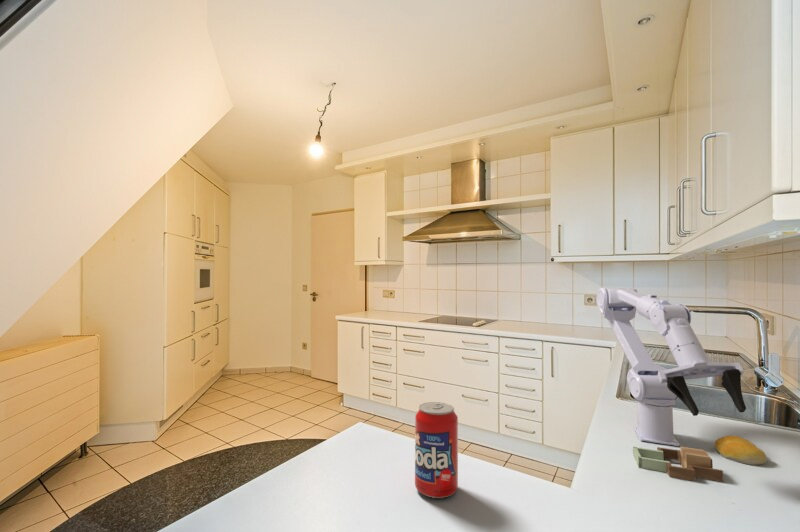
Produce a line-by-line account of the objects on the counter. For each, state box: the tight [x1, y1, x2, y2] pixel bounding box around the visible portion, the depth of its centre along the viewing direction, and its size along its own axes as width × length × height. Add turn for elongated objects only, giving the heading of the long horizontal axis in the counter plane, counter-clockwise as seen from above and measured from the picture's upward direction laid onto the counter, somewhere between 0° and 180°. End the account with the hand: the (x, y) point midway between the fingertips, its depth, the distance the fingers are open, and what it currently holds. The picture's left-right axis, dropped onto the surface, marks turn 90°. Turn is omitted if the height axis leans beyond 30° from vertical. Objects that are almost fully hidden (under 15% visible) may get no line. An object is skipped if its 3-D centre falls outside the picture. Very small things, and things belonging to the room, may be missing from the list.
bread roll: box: [714, 435, 767, 466], centre depth 83 cm, size 8×9×4 cm
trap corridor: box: [632, 446, 724, 483], centre depth 78 cm, size 10×14×2 cm
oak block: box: [679, 446, 712, 468], centre depth 76 cm, size 4×4×4 cm
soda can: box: [414, 401, 459, 499], centre depth 68 cm, size 8×8×15 cm
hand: (719, 412), depth 73 cm, fingers open, 7 cm apart
